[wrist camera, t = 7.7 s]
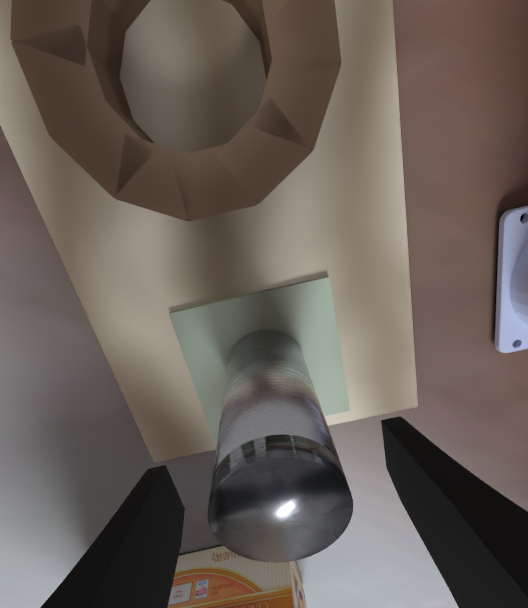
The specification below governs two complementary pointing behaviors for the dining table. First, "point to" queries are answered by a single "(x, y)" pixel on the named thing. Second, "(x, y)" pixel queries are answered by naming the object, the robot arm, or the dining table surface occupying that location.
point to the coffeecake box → (234, 582)
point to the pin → (275, 457)
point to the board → (240, 246)
